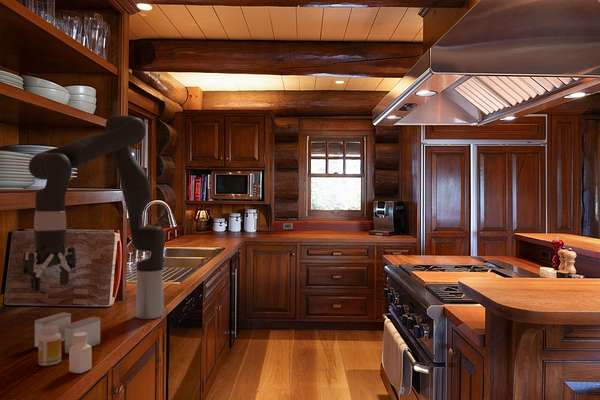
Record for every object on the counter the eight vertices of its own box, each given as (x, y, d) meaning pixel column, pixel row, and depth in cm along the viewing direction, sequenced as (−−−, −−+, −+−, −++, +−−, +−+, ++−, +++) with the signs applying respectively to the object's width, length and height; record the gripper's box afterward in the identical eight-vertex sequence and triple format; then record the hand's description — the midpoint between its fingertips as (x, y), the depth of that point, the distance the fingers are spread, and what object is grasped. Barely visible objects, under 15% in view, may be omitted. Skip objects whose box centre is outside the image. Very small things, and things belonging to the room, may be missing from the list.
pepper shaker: (68, 372, 116) (68, 335, 116) (81, 366, 120) (81, 330, 119) (79, 374, 114) (79, 337, 114) (92, 369, 118) (92, 332, 118)
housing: (63, 336, 143) (63, 312, 143) (100, 343, 138) (100, 317, 138) (34, 346, 134) (34, 320, 134) (73, 354, 129) (73, 326, 128)
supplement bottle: (64, 358, 125) (64, 323, 125) (55, 366, 120) (55, 329, 120) (44, 358, 125) (44, 323, 125) (34, 366, 120) (34, 329, 119)
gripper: (62, 225, 130) (62, 282, 130) (15, 229, 117) (15, 292, 117) (82, 226, 127) (82, 284, 127) (36, 230, 114) (36, 295, 114)
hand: (50, 288), depth 122 cm, fingers open, 8 cm apart
